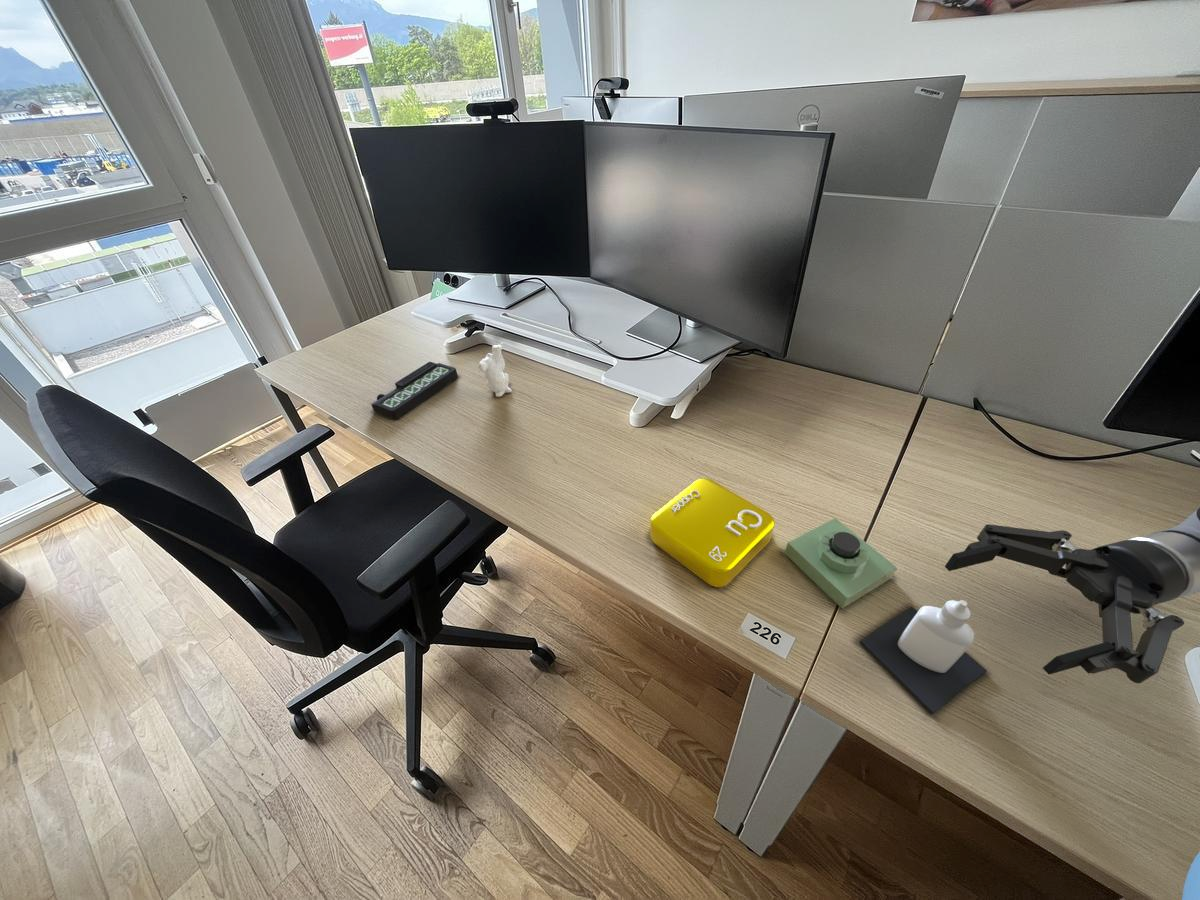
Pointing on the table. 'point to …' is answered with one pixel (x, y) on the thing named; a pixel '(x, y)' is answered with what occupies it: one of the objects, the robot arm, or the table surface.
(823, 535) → the button housing
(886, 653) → the slate mat
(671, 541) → the element tile
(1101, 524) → the table surface
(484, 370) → the koala figurine
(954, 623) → the eye dropper bottle
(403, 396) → the digital display
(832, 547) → the black round knob
